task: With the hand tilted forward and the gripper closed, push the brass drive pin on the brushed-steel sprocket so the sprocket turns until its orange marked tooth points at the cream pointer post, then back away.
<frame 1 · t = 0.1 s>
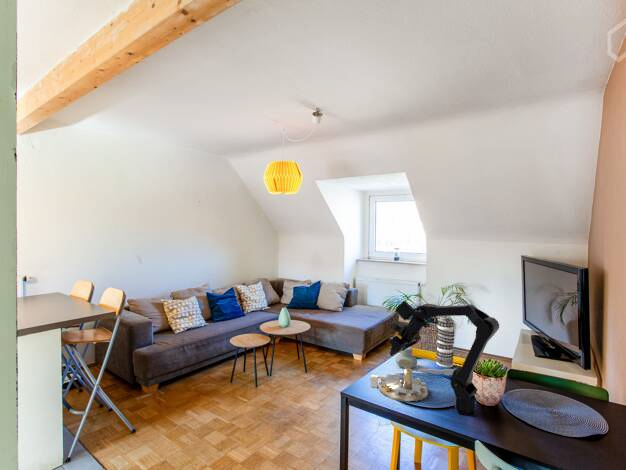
hand: (396, 352, 157), 15 cm above the table, tool tilted 30°, fingers open, 9 cm apart
caliper: (437, 376, 168), on the table
pointer post: (374, 386, 156), on the table
decorative candle: (444, 364, 183), on the table
sprocket base: (402, 390, 152), on the table
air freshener: (406, 366, 179), on the table
sprocket: (403, 375, 152), point 7 cm above the table, hinge at 0.0°
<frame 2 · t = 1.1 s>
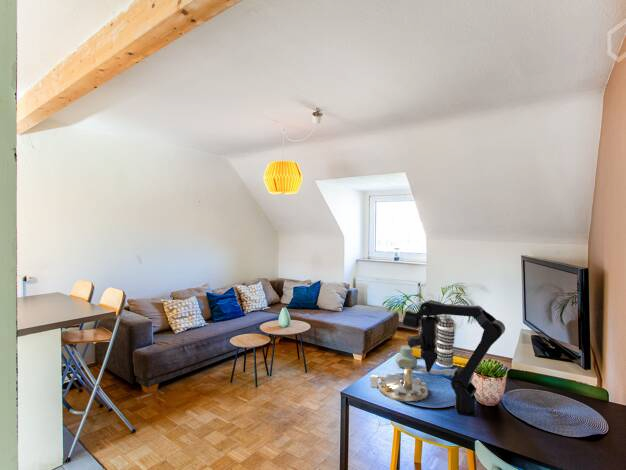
hand: (427, 368, 145), 13 cm above the table, tool pointing down, fingers open, 8 cm apart
nothing on the table moved.
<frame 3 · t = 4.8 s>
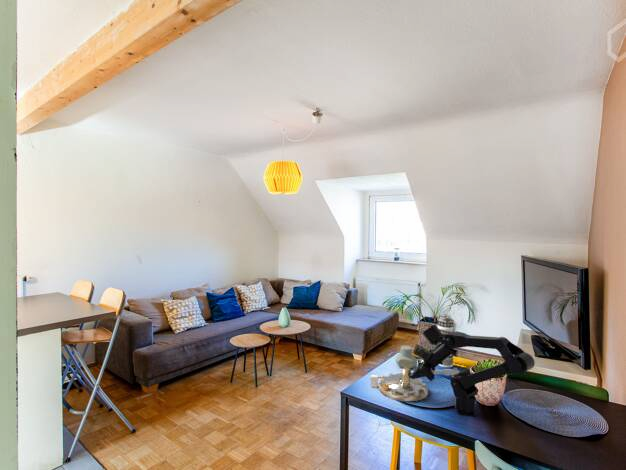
hand: (411, 377, 146), 8 cm above the table, tool tilted 45°, fingers closed, pressing on sprocket
sprocket: (403, 375, 152), point 7 cm above the table, hinge at 7.8°, touching gripper
everything else where it was.
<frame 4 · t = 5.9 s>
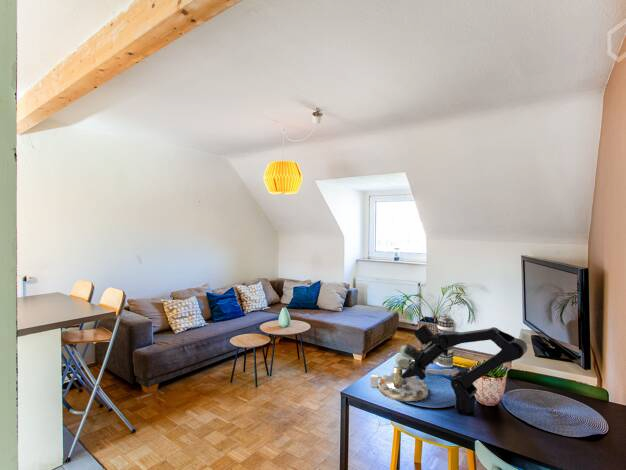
hand: (402, 377, 146), 8 cm above the table, tool tilted 45°, fingers closed, pressing on sprocket
sprocket: (403, 375, 152), point 7 cm above the table, hinge at 44.9°, touching gripper
everything else where it was.
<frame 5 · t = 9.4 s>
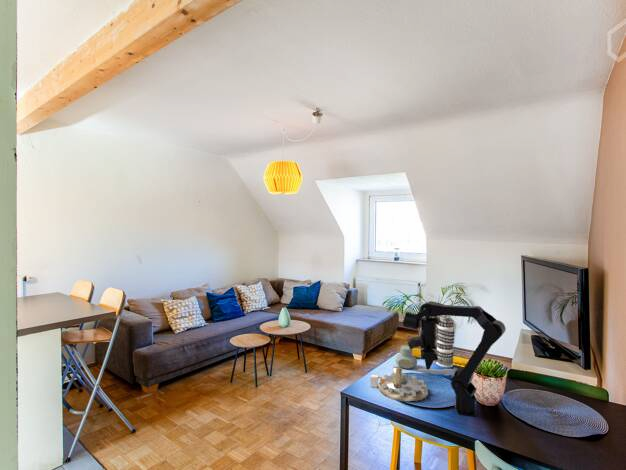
hand: (427, 369, 145), 12 cm above the table, tool pointing down, fingers closed
sprocket: (403, 375, 152), point 7 cm above the table, hinge at 46.9°
everything else where it was.
at the end: sprocket at +47° (first picture: +0°); caliper moved 0.5 cm from its start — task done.
